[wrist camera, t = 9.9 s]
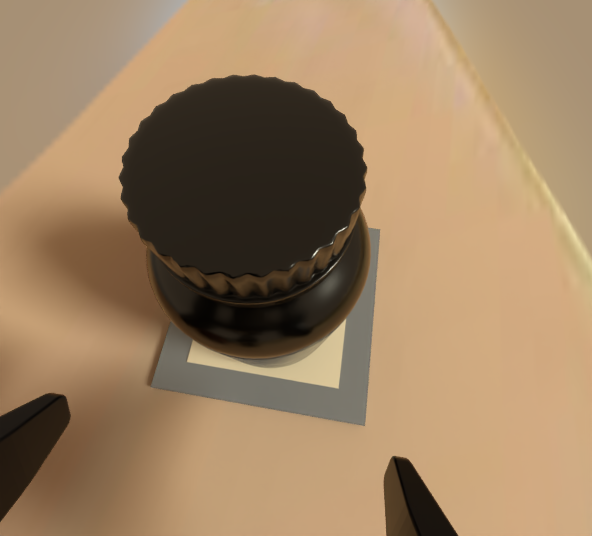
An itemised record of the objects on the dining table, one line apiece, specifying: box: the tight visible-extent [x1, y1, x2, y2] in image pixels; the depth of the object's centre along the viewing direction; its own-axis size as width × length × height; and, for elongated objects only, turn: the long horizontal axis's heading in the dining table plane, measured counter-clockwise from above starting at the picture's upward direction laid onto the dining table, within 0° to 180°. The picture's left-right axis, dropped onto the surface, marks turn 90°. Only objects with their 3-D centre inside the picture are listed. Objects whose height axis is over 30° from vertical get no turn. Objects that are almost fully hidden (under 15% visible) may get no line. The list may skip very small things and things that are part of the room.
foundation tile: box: [151, 228, 380, 426], centre depth 17 cm, size 11×11×1 cm
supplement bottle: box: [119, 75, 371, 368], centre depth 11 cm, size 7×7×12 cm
